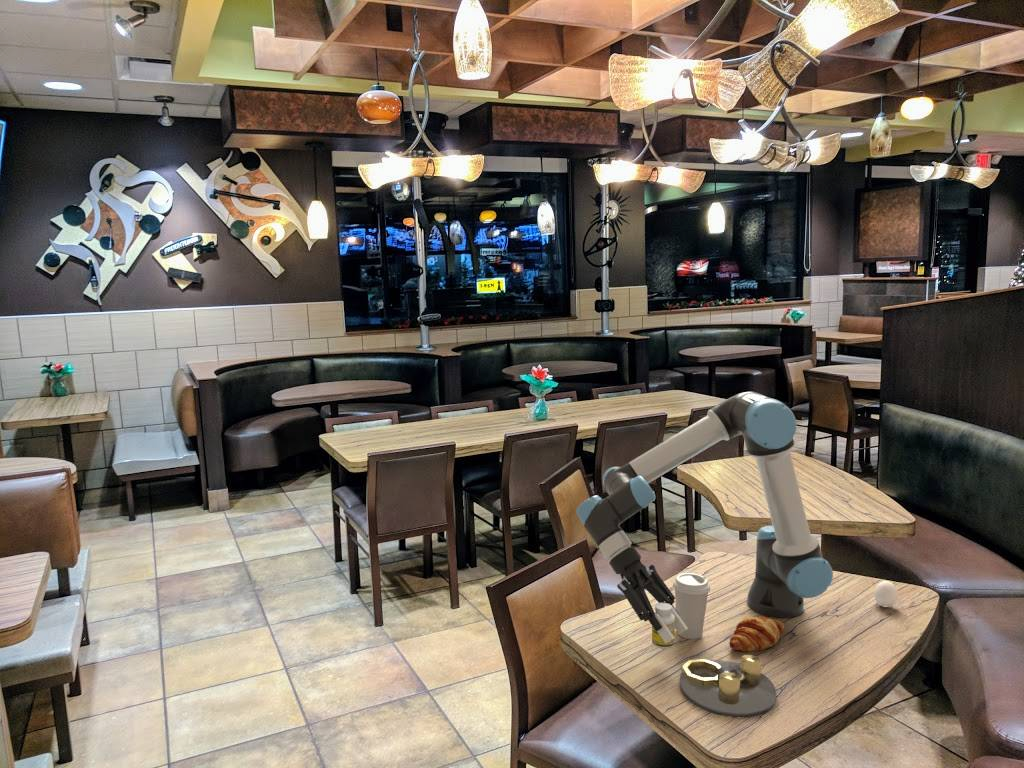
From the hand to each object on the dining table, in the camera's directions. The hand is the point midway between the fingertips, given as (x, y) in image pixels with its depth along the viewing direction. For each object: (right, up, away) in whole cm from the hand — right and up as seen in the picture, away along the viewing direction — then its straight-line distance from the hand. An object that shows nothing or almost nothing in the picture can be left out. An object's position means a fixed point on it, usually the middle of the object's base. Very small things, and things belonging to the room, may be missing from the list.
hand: (676, 636), depth 177 cm
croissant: (+24, -7, +14) cm, 29 cm away
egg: (+67, -4, +35) cm, 76 cm away
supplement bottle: (-3, -3, +3) cm, 5 cm away
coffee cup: (+8, -6, +19) cm, 21 cm away
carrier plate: (+10, -10, -8) cm, 16 cm away
